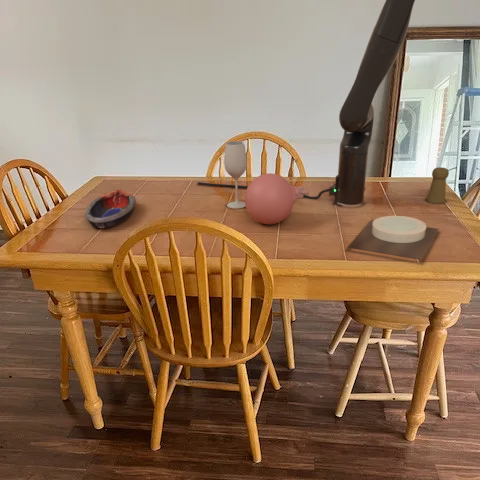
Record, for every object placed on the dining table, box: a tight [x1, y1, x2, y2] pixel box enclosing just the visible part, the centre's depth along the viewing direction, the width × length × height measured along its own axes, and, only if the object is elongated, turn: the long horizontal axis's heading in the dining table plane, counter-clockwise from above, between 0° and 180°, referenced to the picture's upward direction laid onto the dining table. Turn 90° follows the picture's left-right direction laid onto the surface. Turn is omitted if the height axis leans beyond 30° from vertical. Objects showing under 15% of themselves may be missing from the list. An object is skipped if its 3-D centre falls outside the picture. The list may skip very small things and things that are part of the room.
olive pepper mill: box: [426, 167, 450, 204], centre depth 168 cm, size 6×6×11 cm
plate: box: [372, 215, 427, 243], centre depth 144 cm, size 15×15×3 cm
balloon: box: [244, 173, 311, 225], centre depth 154 cm, size 15×20×15 cm
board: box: [347, 219, 439, 261], centre depth 142 cm, size 20×24×1 cm
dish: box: [84, 189, 136, 229], centre depth 168 cm, size 16×31×5 cm, turn 177°
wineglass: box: [223, 140, 248, 210], centre depth 169 cm, size 8×8×21 cm
